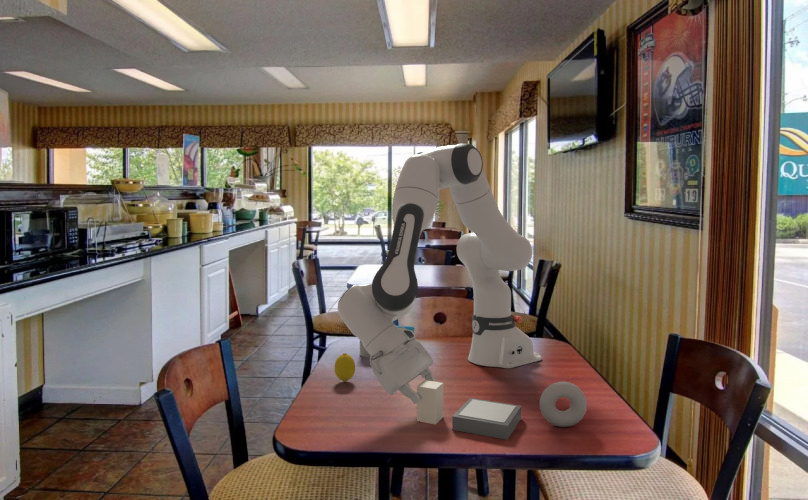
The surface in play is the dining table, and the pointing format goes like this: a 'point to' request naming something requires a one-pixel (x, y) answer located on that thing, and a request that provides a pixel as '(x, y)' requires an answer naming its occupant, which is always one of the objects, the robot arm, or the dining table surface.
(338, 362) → the lemon
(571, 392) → the donut
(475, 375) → the dining table surface
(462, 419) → the charcoal base
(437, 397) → the cream block
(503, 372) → the dining table surface
